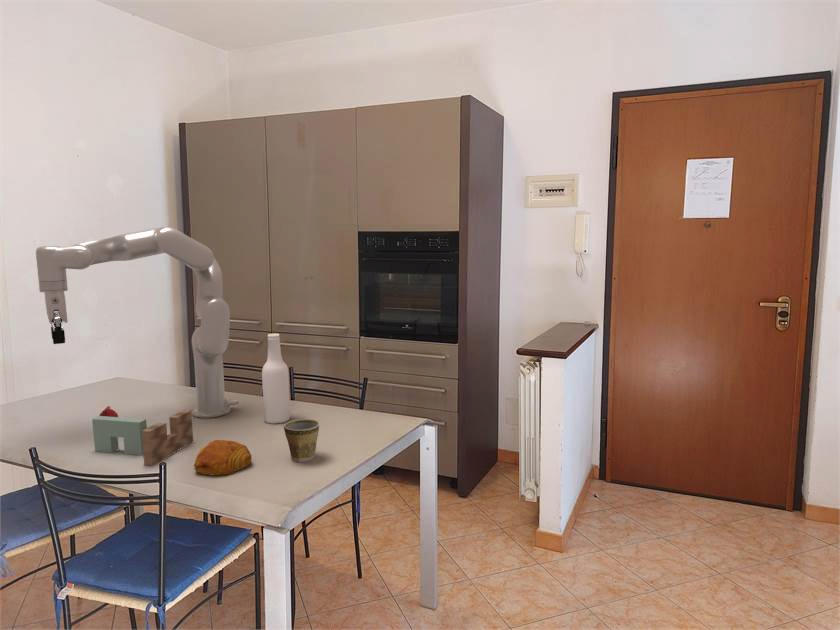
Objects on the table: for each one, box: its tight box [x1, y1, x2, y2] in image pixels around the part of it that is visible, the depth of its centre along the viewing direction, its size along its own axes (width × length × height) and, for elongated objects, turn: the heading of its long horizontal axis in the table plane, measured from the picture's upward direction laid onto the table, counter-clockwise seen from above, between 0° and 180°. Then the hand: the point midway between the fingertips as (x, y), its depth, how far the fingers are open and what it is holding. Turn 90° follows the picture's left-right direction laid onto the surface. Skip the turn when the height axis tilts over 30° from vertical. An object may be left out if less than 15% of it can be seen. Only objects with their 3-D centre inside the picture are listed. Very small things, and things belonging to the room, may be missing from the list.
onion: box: [98, 405, 119, 417], centre depth 203 cm, size 6×6×8 cm
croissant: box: [193, 439, 252, 476], centre depth 172 cm, size 14×16×8 cm
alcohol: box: [261, 333, 291, 425], centre depth 210 cm, size 9×9×30 cm
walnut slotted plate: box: [142, 409, 194, 467], centre depth 182 cm, size 20×2×10 cm, turn 167°
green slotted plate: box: [91, 415, 148, 456], centre depth 184 cm, size 16×3×10 cm, turn 77°
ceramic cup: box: [283, 418, 320, 463], centre depth 179 cm, size 13×10×10 cm
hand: (58, 341), depth 193 cm, fingers open, 9 cm apart
